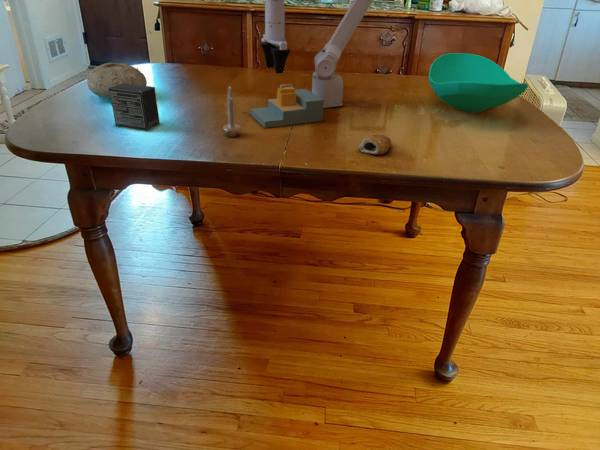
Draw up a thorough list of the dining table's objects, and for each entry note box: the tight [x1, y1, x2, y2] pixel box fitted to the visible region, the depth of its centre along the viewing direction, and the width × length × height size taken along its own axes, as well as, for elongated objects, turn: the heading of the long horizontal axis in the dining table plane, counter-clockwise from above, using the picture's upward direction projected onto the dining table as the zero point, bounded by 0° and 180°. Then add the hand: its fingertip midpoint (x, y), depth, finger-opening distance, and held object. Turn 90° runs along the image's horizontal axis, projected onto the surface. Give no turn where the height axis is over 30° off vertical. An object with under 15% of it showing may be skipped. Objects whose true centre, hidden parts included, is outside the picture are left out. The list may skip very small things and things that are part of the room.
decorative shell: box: [86, 61, 148, 99], centre depth 144 cm, size 18×18×10 cm
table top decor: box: [428, 52, 529, 114], centre depth 143 cm, size 40×28×13 cm
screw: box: [222, 85, 242, 138], centre depth 118 cm, size 13×5×5 cm
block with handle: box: [276, 83, 296, 106], centre depth 131 cm, size 5×4×6 cm
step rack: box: [250, 88, 324, 129], centre depth 133 cm, size 18×12×6 cm, turn 114°
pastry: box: [358, 134, 392, 156], centre depth 115 cm, size 9×7×4 cm
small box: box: [109, 83, 161, 132], centre depth 123 cm, size 11×6×10 cm, turn 71°
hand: (274, 70), depth 140 cm, fingers open, 7 cm apart
